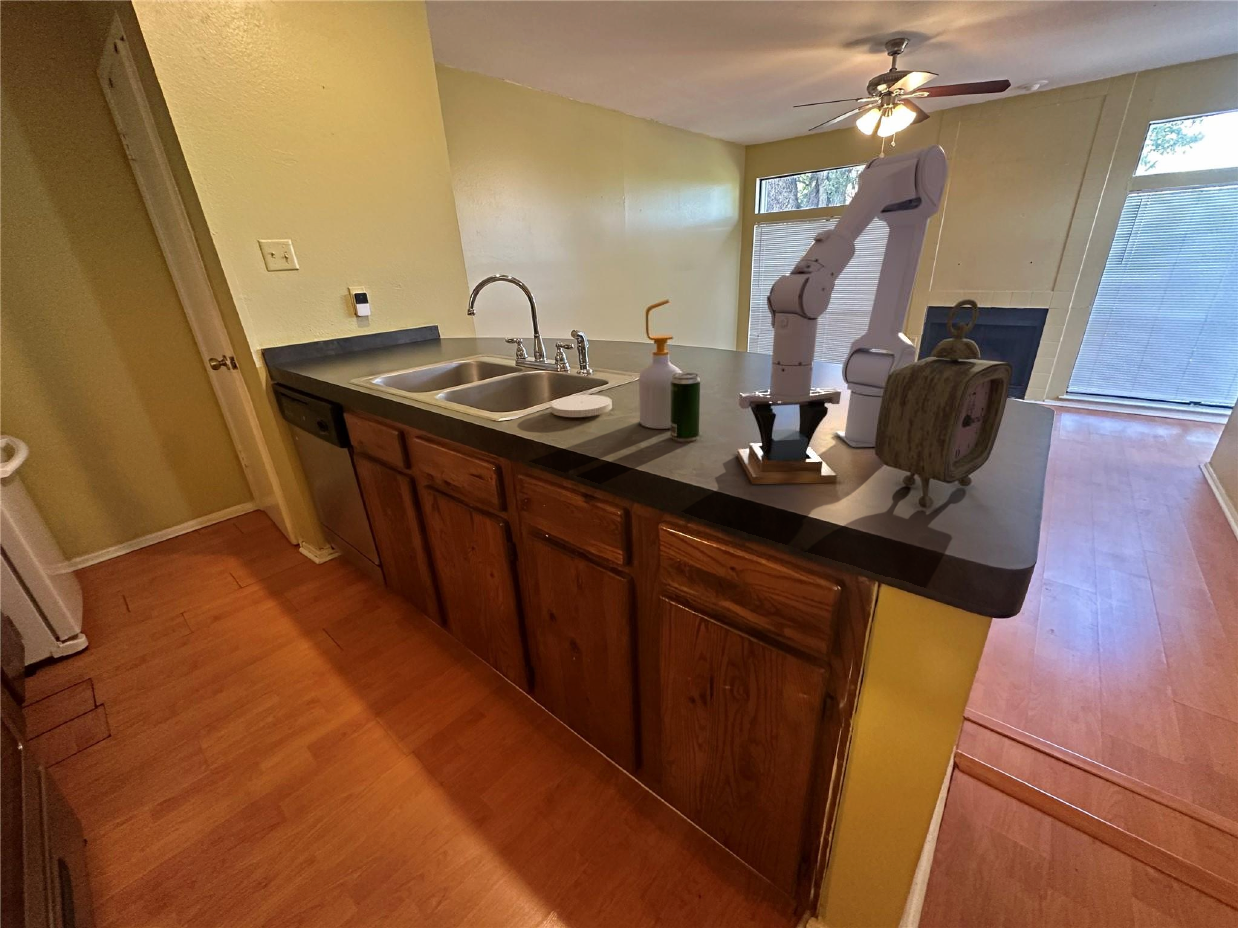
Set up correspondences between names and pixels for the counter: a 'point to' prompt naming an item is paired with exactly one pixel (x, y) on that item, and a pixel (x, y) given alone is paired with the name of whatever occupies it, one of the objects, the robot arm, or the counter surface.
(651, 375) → the soap bottle
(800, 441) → the dark gray block
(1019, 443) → the counter surface
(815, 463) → the base pad
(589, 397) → the plastic lid
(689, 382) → the beer can
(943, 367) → the tabletop clock
